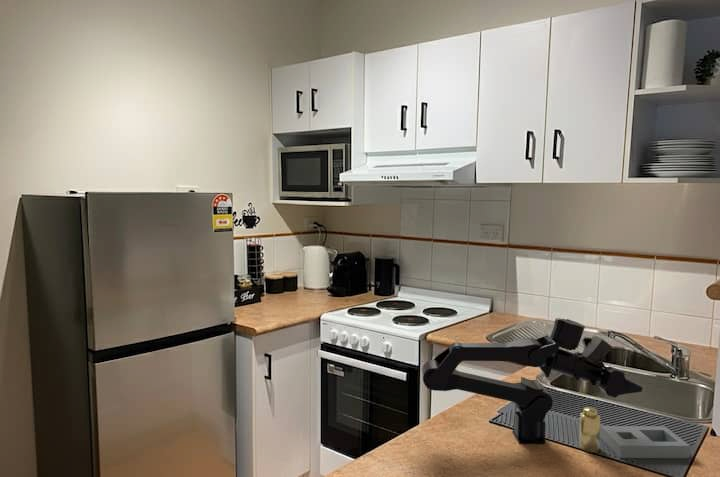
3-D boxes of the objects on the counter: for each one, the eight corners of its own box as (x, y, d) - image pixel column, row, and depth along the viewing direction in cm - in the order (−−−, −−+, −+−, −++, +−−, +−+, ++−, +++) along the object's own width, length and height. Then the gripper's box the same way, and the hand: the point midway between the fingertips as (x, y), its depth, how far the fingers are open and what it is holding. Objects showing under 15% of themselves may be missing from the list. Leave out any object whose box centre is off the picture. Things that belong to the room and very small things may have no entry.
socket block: (620, 458, 118) (620, 445, 118) (600, 437, 128) (600, 426, 128) (689, 458, 118) (690, 445, 118) (664, 437, 128) (664, 426, 128)
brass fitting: (583, 452, 121) (585, 413, 120) (576, 443, 126) (577, 405, 125) (602, 452, 121) (603, 413, 120) (594, 443, 125) (595, 405, 125)
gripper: (596, 341, 117) (663, 362, 116) (567, 326, 135) (625, 344, 134) (581, 387, 117) (648, 408, 116) (554, 366, 135) (612, 384, 135)
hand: (632, 383), depth 125 cm, fingers open, 9 cm apart
